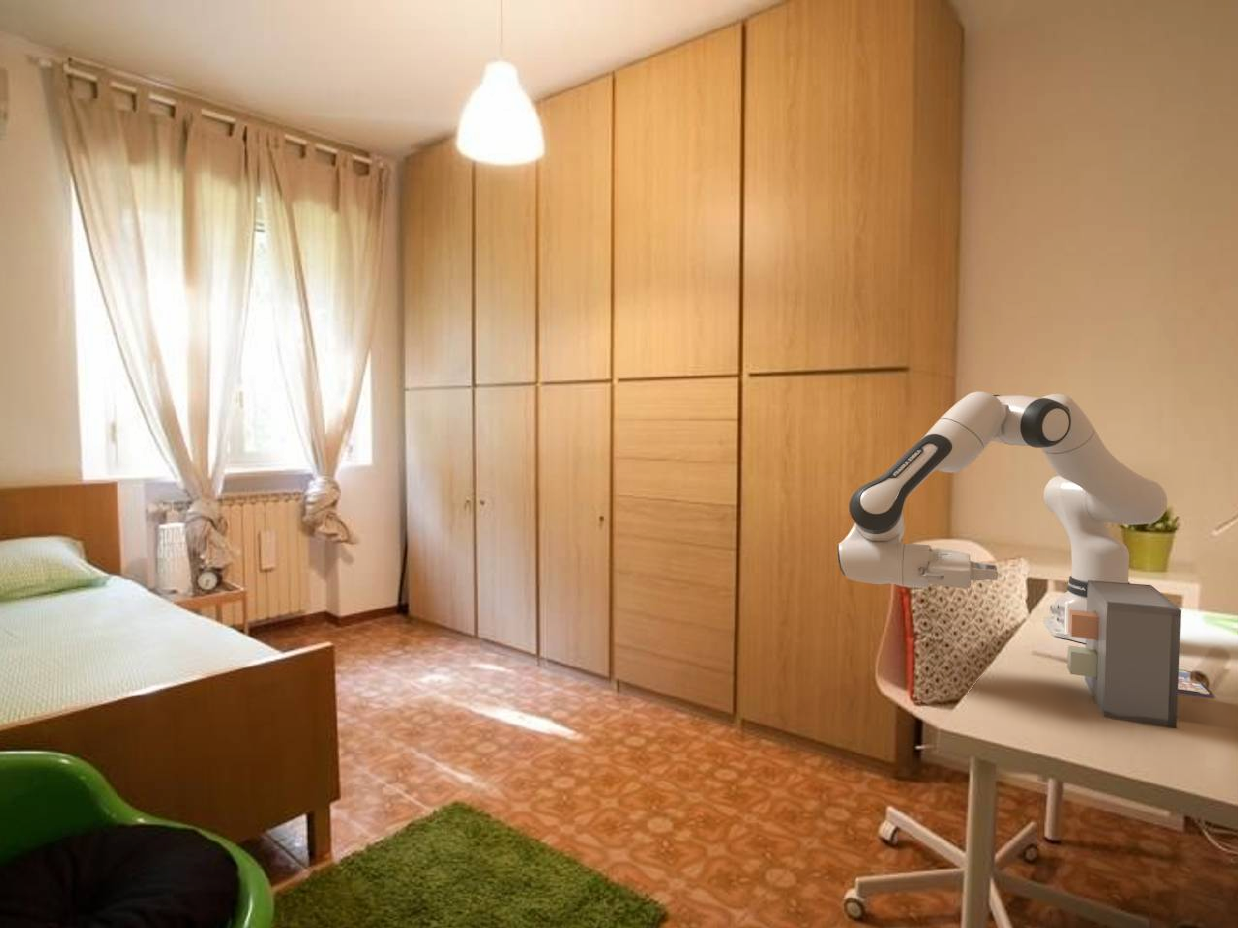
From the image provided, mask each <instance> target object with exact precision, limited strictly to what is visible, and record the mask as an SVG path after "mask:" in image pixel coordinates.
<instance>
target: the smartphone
mask: <svg viewBox="0 0 1238 928" xmlns="http://www.w3.org/2000/svg"><path fill="white" fill-rule="evenodd" d="M1190 672H1191V671H1190V670H1188V669H1187V670H1186V669H1180V668H1179V682H1178V695H1185V696H1191V697H1200V698H1209V699H1210V698H1213V693H1212V692H1211V691H1210V690H1209V689H1208V688H1207V687H1206V686H1205V685H1204V684H1203V683H1202V684H1195V683H1191V682H1189V681H1187V678H1189V673H1190Z"/></svg>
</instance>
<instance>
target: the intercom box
mask: <svg viewBox="0 0 1238 928" xmlns="http://www.w3.org/2000/svg"><path fill="white" fill-rule="evenodd" d="M1087 611H1094V612H1096V613H1097V614H1098V616H1099V618H1098V640H1095V639H1086V643H1085V647H1086V648H1094V649H1095V651H1096V652H1097V677H1089V676H1084V680H1085V682H1086V685H1087V687H1088V689H1089V691H1090V692H1091V694H1092V697H1093V698H1094V699H1093V700H1095V702H1096V704H1097V706H1098V709H1099V711H1100V712H1101V713H1100V714H1101V715H1102V718H1106V719H1113V720H1119V721H1124V722H1133V723H1136V724H1137V723H1138V724H1144V725H1149V726H1157V727H1163V728H1164V727H1166V728H1171V729H1178V711H1179V710H1178V707H1179V702H1178V701H1179V694H1178V682H1179V669H1180V653H1181V650H1180V649H1181V625H1182V623H1181V622H1182V621H1181V619H1182V609H1181V608H1180V607H1178V606H1177V605H1176V604H1175V603H1173V602H1172V601H1171V600H1170V599H1169V598H1167V597H1166V596H1165V595H1164V594H1162V593H1161V592H1160V591H1159V590H1158V589H1156V588H1155V587H1154V586H1153V585H1151V584H1143V583H1141V584H1140V583H1131V582H1130V583H1119V582H1106V581H1094V580H1088V592H1087Z"/></svg>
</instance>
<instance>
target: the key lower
mask: <svg viewBox="0 0 1238 928" xmlns="http://www.w3.org/2000/svg"><path fill="white" fill-rule="evenodd" d="M1066 657H1067V659H1066V660H1067V662H1066V666H1067V667H1066V668H1067V670H1068V672H1069V675H1074V676H1075V675H1076V676H1082V677H1085V676H1089V677H1097V652H1096V651H1095V649H1094V648H1086V646H1077V645H1069V644H1068V645H1067V656H1066Z"/></svg>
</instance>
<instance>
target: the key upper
mask: <svg viewBox="0 0 1238 928" xmlns="http://www.w3.org/2000/svg"><path fill="white" fill-rule="evenodd" d="M1098 618H1099V616H1098V614H1097V613H1096V612H1094V611H1083V610H1073V609H1069V620H1068V631H1069V633H1070V635H1071V637H1077V638H1086V639H1095V640H1098Z"/></svg>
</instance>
